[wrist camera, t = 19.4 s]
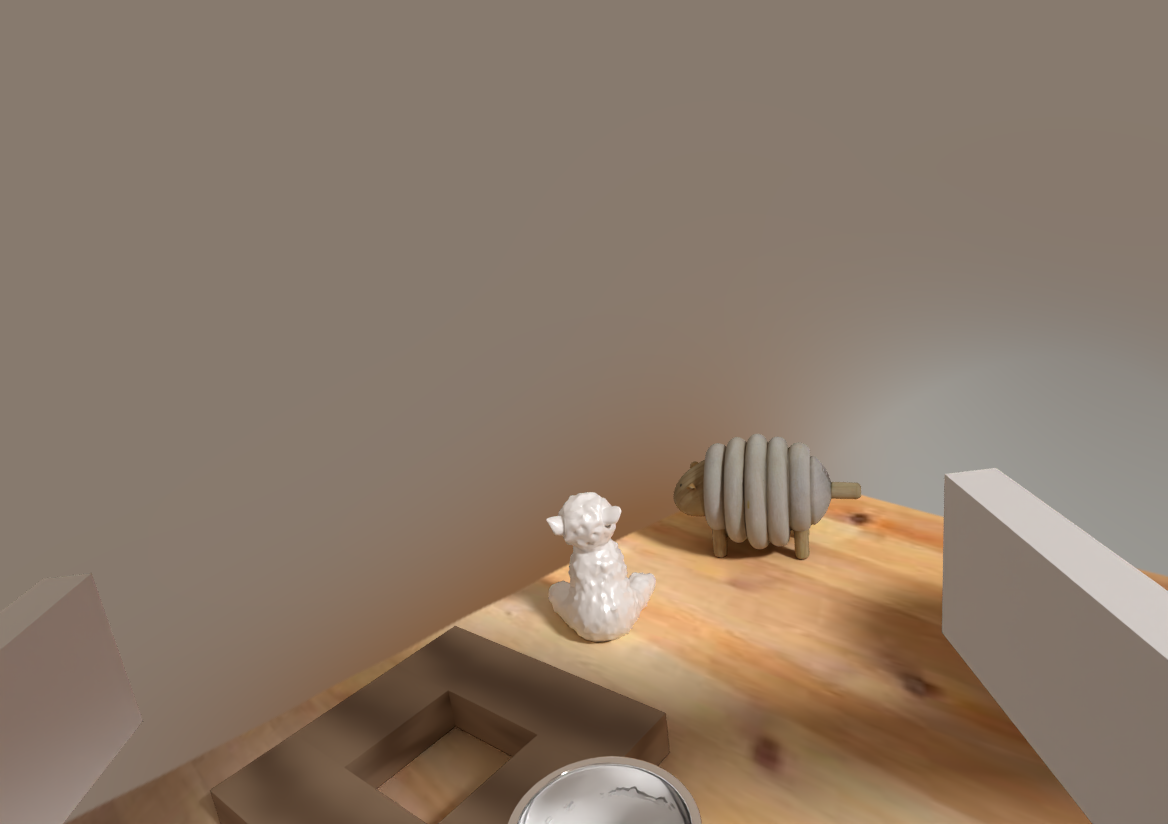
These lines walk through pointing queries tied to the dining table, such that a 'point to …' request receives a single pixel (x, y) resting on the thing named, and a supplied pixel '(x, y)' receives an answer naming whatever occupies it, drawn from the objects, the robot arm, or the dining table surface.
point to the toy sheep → (760, 492)
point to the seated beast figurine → (596, 572)
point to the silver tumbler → (607, 795)
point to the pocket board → (421, 717)
